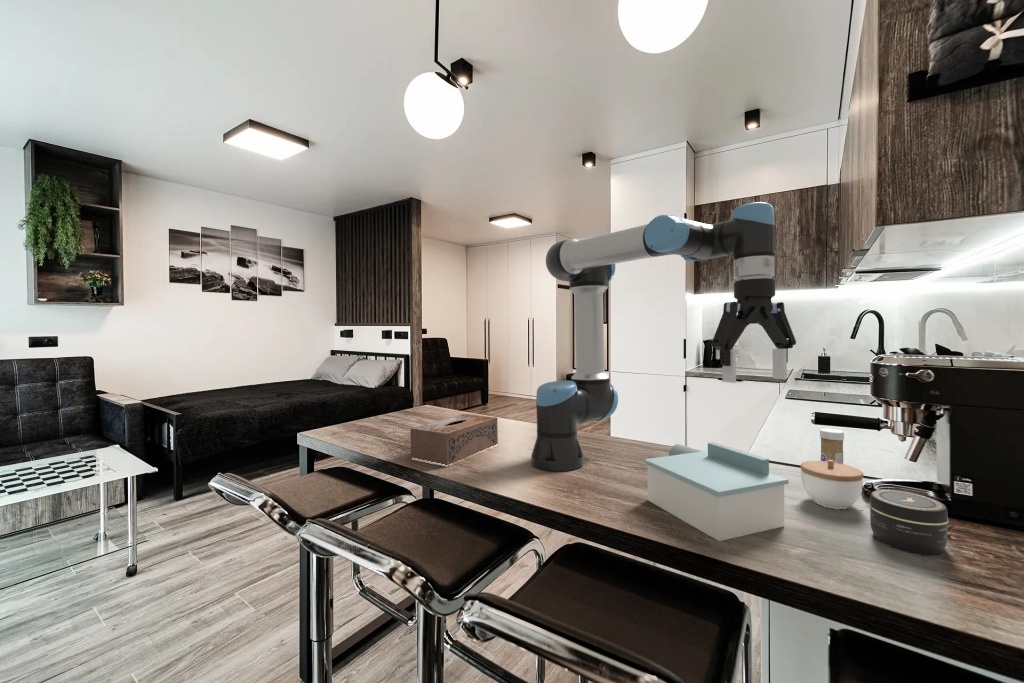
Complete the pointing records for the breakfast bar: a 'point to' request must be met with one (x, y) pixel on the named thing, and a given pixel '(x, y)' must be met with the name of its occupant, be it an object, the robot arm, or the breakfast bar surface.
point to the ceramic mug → (681, 450)
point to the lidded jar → (832, 483)
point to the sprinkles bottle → (832, 445)
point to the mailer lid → (720, 470)
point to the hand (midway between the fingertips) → (755, 380)
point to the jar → (909, 521)
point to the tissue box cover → (453, 438)
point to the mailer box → (717, 506)
